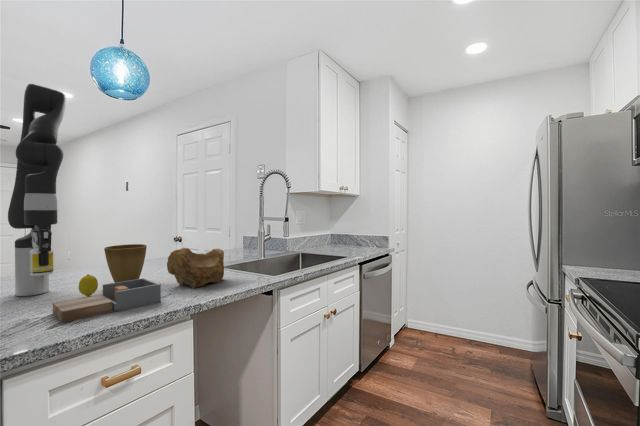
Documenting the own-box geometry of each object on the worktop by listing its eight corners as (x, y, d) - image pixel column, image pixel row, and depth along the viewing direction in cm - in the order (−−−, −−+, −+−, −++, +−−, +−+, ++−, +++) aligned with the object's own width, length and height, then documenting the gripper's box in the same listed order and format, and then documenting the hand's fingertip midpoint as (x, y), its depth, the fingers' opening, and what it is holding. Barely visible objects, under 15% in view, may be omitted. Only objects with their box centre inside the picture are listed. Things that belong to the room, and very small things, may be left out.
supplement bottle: (57, 273, 96) (57, 241, 96) (36, 276, 91) (36, 243, 91) (46, 272, 98) (45, 240, 97) (25, 275, 92) (24, 242, 92)
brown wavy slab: (52, 313, 93) (52, 303, 93) (100, 303, 102) (100, 294, 102) (62, 322, 86) (62, 311, 85) (112, 311, 95) (112, 301, 95)
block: (114, 286, 102) (123, 285, 104) (114, 302, 102) (123, 300, 104) (120, 289, 99) (128, 287, 101) (120, 305, 99) (128, 303, 101)
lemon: (87, 299, 107) (87, 276, 107) (74, 298, 109) (74, 275, 108) (101, 295, 113) (101, 273, 113) (89, 294, 114) (89, 272, 114)
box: (99, 303, 103) (99, 285, 103) (143, 294, 114) (143, 278, 114) (114, 312, 94) (114, 292, 94) (160, 301, 105) (160, 284, 105)
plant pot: (118, 280, 135) (118, 244, 135) (153, 280, 136) (153, 244, 136) (95, 289, 120) (95, 248, 120) (135, 289, 121) (135, 248, 121)
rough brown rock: (172, 295, 116) (174, 255, 115) (164, 282, 129) (166, 247, 128) (232, 288, 130) (235, 253, 129) (220, 277, 143) (222, 245, 142)
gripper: (62, 208, 92) (63, 265, 93) (51, 208, 101) (52, 260, 102) (28, 208, 87) (29, 269, 87) (20, 208, 96) (20, 263, 96)
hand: (41, 264), depth 94 cm, fingers closed on supplement bottle, 5 cm apart
